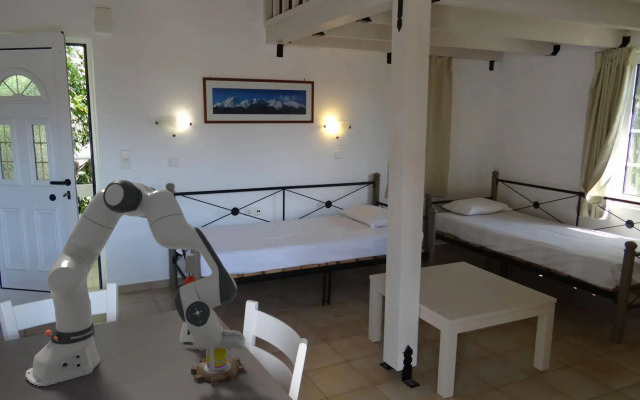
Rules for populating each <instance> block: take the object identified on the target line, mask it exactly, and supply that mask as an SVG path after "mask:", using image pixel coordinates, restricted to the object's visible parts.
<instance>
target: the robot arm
mask: <svg viewBox="0 0 640 400" xmlns="http://www.w3.org/2000/svg"><path fill="white" fill-rule="evenodd" d="M123 216H128V217H137V218H143V219H146V220H147V223H148V226H149V229H150V231H151V234H152V236H153V238H154V240H155V242H156V243H157V244H158V245H159V246H160V247H162V248H166V249H170V250H194V251H197V252H199V253H200V255H201V256H202V257H203V259H204V261H205V262H206V264H207V266H208V267H209V269H210V270H211V274H210V275H208V276H204V277H202V278H201V279H196V280H197V281H195V282H191V283H189V284H186V285H185V284H184V285H182V286H180V287H178V289H177V291H176V293H175V296H174V305H175V308H176V311H177V314H178V316H179V317H180V319H181V321H182V326H181V330H180V334H179V345H180V346H181V347H182V348H183V347H184V348H198V349H197V350H199V351H205V350H206V349H210V348H226V350H227V351H229V352H233V350H234V349H235V350H238V349H239V350H240V349H241V350H242V349H244V348H245V343H246V342H245V341H246V337H245V336H244V334H243V333H242V332H241V331H240V330H239V331H238V330H230V329H229V330H228V329H227V330H226V329H225V330H224V328H223V326H222V324H221V321H220V320H219V319H218V315H217V314H216V312H215V310H214V308H216V307H219V306H222V305H226V304H230V303H232V302H233V301H234V300H235V297H236V296H237V293H238V287H237V283H236V281H235V279H234V277H233V276H232V275H231V273H230V272H229V271H228V270H227V269H226V267H225V266H224V264H223V262H222V261H221V259H220V258H219V256H218V254H217V252H216V251H215V249H214V248H213V246H212V244H211V243H210V241H209V240H208V239H207V237H206V235H205V234H204V233H203V231H202V230H201V229H200V228H199V227H193V226H192V225H191V224H189V222H188V221H187V219H186V217H185V215H184V213H183V210H182V208H181V206H180V204H179V202H178V200H177V199H176V197H175V195H174V194H173V193H172V192H171V191H170V190H167V189H163V188H162V189H156V188H154V187H152V186H151V187H150V186H148V185H146V184H143V183H140V182H133V181H129V180H126V179H118V180H113V181H111V182H110V183H108V184H107V186H106V187H105V188H103V189H101V190H98V191H97V193H95V195H94V196H93V197H92V199H90V201H89V203H87V205H86V206H85V209H84V210H83V212H82V213H81V215H80V217H79V219H78V221H77V222H76V225H75V226H74V228H73V230H72V231H71V233H70V235H69V236H68V239H67V241H66V243H65V245H64V246H63V248H62V250H61V252H60V254H59V256H58V257H57V259H56V261H55V262H54V263H53V265H52V266H51V267H50V269H49V270H48V274H47V286H48V287H49V291H50V295H51V300H52V302H53V307H54V318H55V328H54V330H53V331H52V330H51V329H47V330H45V332H44V334H45V336H46V337H48V338H50V340H49V342H48V343H46V345H45V346H44V347H42V349H40V351H38V352H37V353H36V354H35V355H34V358H33V360H32V361H33V362H32V367H30V368H29V369H27V370H26V372H25V379H26V378H27V379H26V381H27V380H28V381H29V382H30V383H29V382H28V381H27V382H28V383H29V384H31V383H32V384H34V385H33V386H35V385H37V386H36V387H39V386H44V387H48V386H52V385H54V384H59V383H62V382H66V381H69V380H73V379H76V378H80V377H84V376H87V375H90V374H92V373H93V372H94V369H95V368H96V367H97V366H98V365H99V364H100V362H101V358H100V356H99V353H98V351H97V347H96V342H95V336H96V335H95V326H94V325H95V323H94V322H93V313H92V302H91V299H90V294H89V290H88V289H89V288H88V276H89V274H90V272H91V270H92V269H93V267H94V264H95V263H96V261H97V259H98V258H99V256H100V255H101V253H102V251H103V249H104V248H105V246H106V245H107V243H108V241H109V239H110V237H111V235H112V233H113V232H114V230H115V228H116V226H117V224H118V222H119V220H120V219H121V218H122V217H123ZM184 348H183V349H184ZM58 382H59V383H58ZM32 384H31V385H32ZM51 384H52V385H51Z"/></svg>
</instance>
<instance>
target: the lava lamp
mask: <svg viewBox="0 0 640 400" xmlns="http://www.w3.org/2000/svg"><path fill="white" fill-rule="evenodd" d="M198 271H199V268H198V264H197V259H196V255H195V254H194V253H188V254H186V255H185V262H184V271H183V272H184V273H187V274H193V273H197V272H198ZM197 280H198V279H197V278H195V276H192V275H188V276H187V277H185V280H184V285H186V284H189V283H191V282H195V281H197ZM182 349H183V350H188V351H195V350H199V349H198V348H184V347H182Z"/></svg>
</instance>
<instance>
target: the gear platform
mask: <svg viewBox="0 0 640 400" xmlns="http://www.w3.org/2000/svg"><path fill="white" fill-rule="evenodd" d="M240 364H241V358H239V357H238V356H236V357H234V358H230V357H227V365H226V367H225V368H224V369H222V370H218V371H212V370H209V369H208V368H207V361H206V357H203V358H201V359H200V360H199V364H198V365H195V366H193V365H192V366H191V368H190V374H195V375H193V381H195V382H197V383H199V382H202V381H204V382H207V383H210V386H218V384H219V383H220V382H226V381H230V382H231V383H233V382H235V381H237V379H238V374H239V373H245V370H244V369H246V368H245V364H244V365H242V364H241V365H240Z"/></svg>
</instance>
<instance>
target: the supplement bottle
mask: <svg viewBox="0 0 640 400" xmlns="http://www.w3.org/2000/svg"><path fill="white" fill-rule="evenodd" d="M205 352H206V353H205V354H206V355H205V356H206V357H205V358H206V361H207V368H208V369H209V370H212V371H218V370H222V369H224V368H225V367H226V365H227V358H228V357H227V349H226V348H210V349H205Z"/></svg>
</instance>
